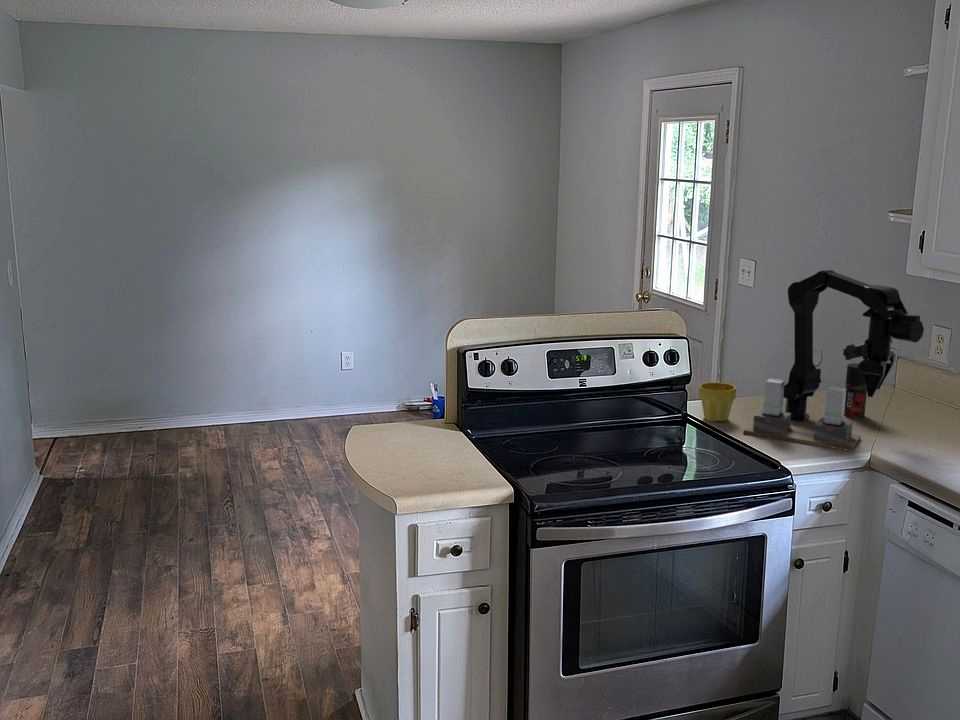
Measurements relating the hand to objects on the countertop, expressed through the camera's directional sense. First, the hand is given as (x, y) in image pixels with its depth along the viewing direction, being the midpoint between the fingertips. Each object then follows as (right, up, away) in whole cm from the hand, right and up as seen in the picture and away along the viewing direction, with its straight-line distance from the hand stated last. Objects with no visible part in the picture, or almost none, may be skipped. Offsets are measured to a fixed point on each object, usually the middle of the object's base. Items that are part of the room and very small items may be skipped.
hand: (873, 392), depth 246 cm
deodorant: (+5, -8, +25) cm, 26 cm away
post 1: (-24, -6, +8) cm, 26 cm away
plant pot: (-37, -8, +21) cm, 43 cm away
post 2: (-11, -8, 0) cm, 13 cm away
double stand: (-18, -12, +5) cm, 22 cm away
